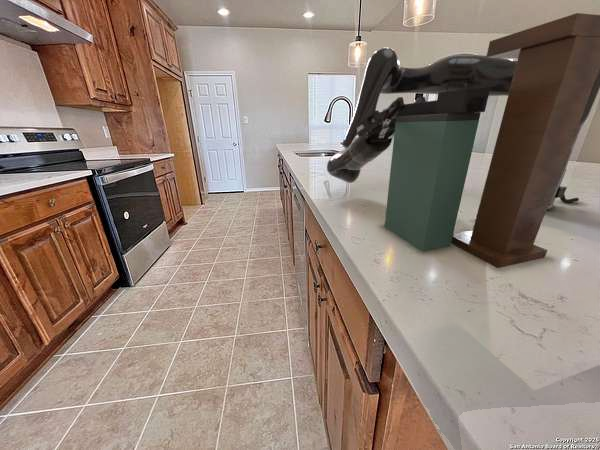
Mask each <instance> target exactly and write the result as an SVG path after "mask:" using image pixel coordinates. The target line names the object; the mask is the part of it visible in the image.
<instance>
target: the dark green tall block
mask: <svg viewBox="0 0 600 450" xmlns="http://www.w3.org/2000/svg"><path fill="white" fill-rule="evenodd" d="M481 114H482V112H475V113H447V114H429V115H412V116H396V124H395V133H394V137H393V142H392V151H391V152H392V153H391V162H390V172H389V181H388V192H387V199H386V209H385V218H384V228H386V230H389V231H390V232H392V233H393V234H395V235H396V236H398V237H400V238H401V239H402V240H404V241H406V242H407V243H409V244H410V245H412V246H413V247H415V248H416V249H418V250H419V251H421V252H429V251H434V250H439V249H445V248H449V247H451V246H452V244H451V241H452V237H453V233H455V226H456V225H457V224H456V223H457V218H458V215H459V210H460V206H461V203H462V197H463V193H464V190H465V189H464V188H465V184H466V181H467V176H468V172H469V168H470V167H469V166H470V162H471V158H472V154H473V149H474V145H475V140H476V136H477V132H478V127H479V123H480V117H481Z"/></svg>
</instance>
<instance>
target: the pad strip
mask: <svg viewBox="0 0 600 450" xmlns="http://www.w3.org/2000/svg"><path fill="white" fill-rule="evenodd" d="M489 92H490V88H464V89H458V90H452V91H445V92H439V93H438V94H437V98H436V100H429V101H428V100H426V102H419V103H414V102H411V103H406V104H405V103H404V108H403V110H401V111H400V112H399V113H398V114H397V115H396V116H412V115H429V114H447V113H475V112H481V113H486V109H487V105H488V100H489V97H490V96H489ZM396 116H395V117H396Z"/></svg>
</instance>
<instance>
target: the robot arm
mask: <svg viewBox="0 0 600 450" xmlns="http://www.w3.org/2000/svg"><path fill="white" fill-rule="evenodd" d="M486 56H487V55H484V54H483V55H482V54H458V55H449V56H447V57H445V58H442V59H439V60H437V61H435V62H433V63H431V64H427V65H425V66H421V67H402V66H401V65H400V60H399V58H398V57H399V56H398V55H397V52H396V51H395V50H394V49H392V48H390V47H383V48H379V49H378V50H376V51H375V52H374V53H373V54H372V55H371V56H370V58H369V59H368V62H367V65H366V68H365V71H364V77H363V80H362V84H361V87H360V92H359V95H358V99H357V102H356V106H355V109H354V112H353V115H352V117H351V121H350V122H349V125H348V127H347V129H346V133H345V135H344V137H343V140H342V144H341V145H342V146H341V147H342V148H343V149H342V150H340V151H337V152H336V153H335V154H333V155H332V156H331V157H330V158H329V159H328V161H327V164H326V171H327V173H328V175H330V176H331V177H333V178H336V179H338V180H341V181H343V182H345V183H348V184H352V183H354V182H356V181H357V180H358V179H359V177H360V174H361V170H362V168H364V167H365V166H366V165H368V163H370V162H373V161H374V160H375V159H376V158H377V157H379V156H380V155H381V154H382V153H384V152H385V151H387V150H388V148H390V146H391V144H392V141H393V140H394V133H395V124H396V117H395V116H396V115H397V114H398V113H399V112H400V111H401V110H403V108H404V104H405V102H404V97H402V96H398V97H397V98H396V99H395V100H393V101H392V102H391V103H390V104H389V105H388V106H387V107H386V108H383V109H382V110H381V111H380V110H377V107H378V106H377V105H378V102H379V98H380V95H382V94H383V95H393V94H394V95H395V94H424V95H438V93H439V92H445V91H452V90H458V89H464V88H490V92H489V96H488V97H499V96H500V97H501V96H503V97H504V96H505V97H506V96H507V97H508V95H509V91H510V87H511V83H512V79H513V76H514V72H515V68H516V64H517V60H515V59H510V58H489V57H486ZM599 92H600V70H599V72H598V75H597V78H596V80H595V83H594V85H593V88H592V91H591V93H590V96H589V99H588V101H587V104H586V107H585V109H584V112H583V115H582V117H581V120H580V122H579V125H578V128H577V130H576V133H575V136H574V138H573V141H572V144H571V146H570V149H569V152H568V154H567V157H566V160H565V162H564V165H563V167H562V170H561V173H560V175H559V178H558V181H557V183H556V186H555V189H554V191H553V194H552V197H551V199H550V202H549V204H548V207H547V210H546V211H548V210H551V209H552V207H553V205H554V203H555V200H556V199H559V200H560V201H561V202H562V203H564V204H570V203H571V204H572V203H575V202H578V201H579V200H580V198H579V197H573V198H569V199H568V198H566V195H565V193H566V191H567V189H568V186H562V182H563V180H564V177H565V175H566V171H567V167H568V164H569V161H570V158H571V156H572V154H573V151H574V148H575V145H576V142H577V140H578V138H579V135H580V133H581V130H582V128H583V126H584V124H585V123H586V121H587V119H588V118H589V116H590V113H591V111H592V109H593V106H594V103H595V101H596V99H597V97H598V94H599ZM419 102H427V100H426V97H425V96H419V97H418V98H417V99H416V100H415V101H414V102H413V103H419Z"/></svg>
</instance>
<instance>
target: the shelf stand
mask: <svg viewBox="0 0 600 450" xmlns="http://www.w3.org/2000/svg"><path fill="white" fill-rule="evenodd" d="M485 56H486V57H489V58H504V59H517V60H516V61H517V64H516V68H515V72H514V76H513V79H512V83H511V87H510V91H509V95H508V96H507V99H506V103H505V105H504V111H503V115H502V118H501V121H500V125H499V129H498V133H497V137H496V141H495V145H494V148H493V152H492V156H491V160H490V163H489V167H488V170H487V175H486V179H485V183H484V186H483V190H482V194H481V198H480V201H479V205H478V206H479V207H478V209H477V214H476V217H475V221H474V224H473V229H471V230H466V231H459V232H453V237H452V241H451V245H452V246H455V247H457V248H458V249H461V250H462V251H464V252H466V253H468V254H470V255H471V256H474V257H475V258H477V259H479V260H481V261H483V262H485V263H486V264H489V265H490V266H492V267H494V268H496V269H500V268H505V267H510V266H514V265H518V264H523V263H527V262H532V261H536V260H541V259H545V258H546V256H547V253H548V249H546V248H543V247H541V246H538V245H536V244H535V241H536V239H537V236H538V233H539V230H540V228H541V226H542V222H543V221H544V218H545V215H546V212H547V211H548V210H547V207H548V204H549V202H550V199H551V197H552V194H553V191H554V189H555V186H556V183H557V181H558V178H559V175H560V173H561V170H562V167H563V165H564V162H565V160H566V157H567V154H568V152H569V149H570V146H571V144H572V141H573V138H574V136H575V133H576V130H577V128H578V125H579V122H580V120H581V117H582V115H583V112H584V109H585V107H586V104H587V101H588V99H589V96H590V93H591V91H592V88H593V85H594V83H595V80H596V78H597V75H598V72H599V70H600V14H594V13H593V14H591V13H580V12H576V13H573V14H569V15H566V16H563V17H561V18H557V19H555V20H554V19H553V20H551V21H548V22H545V23H541V24H538V25H536V26H532V27H529V28H526V29H523V30H520V31H517V32H514V33H511V34H507V35H505V36H502V37H499V38H496V39H493V40H490V41H489V43H488V48H487V52H486V55H485Z"/></svg>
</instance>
